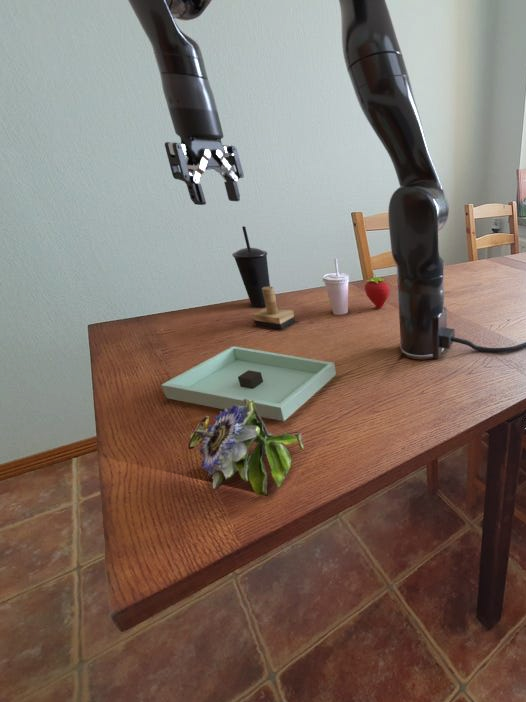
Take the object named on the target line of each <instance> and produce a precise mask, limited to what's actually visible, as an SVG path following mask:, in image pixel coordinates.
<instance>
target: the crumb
mask: <svg viewBox="0 0 526 702" xmlns="http://www.w3.org/2000/svg"><path fill="white" fill-rule="evenodd" d="M238 380H239V383H240V386H241V387H245V388H250V389H254V388H255V387H257V386H258V385H259V384H261V383H262V382H263V379H262V375H261V372H256V371H250V370H248V371H246V372H245V373H243V374H242V375H240V376H239V377H238Z"/></svg>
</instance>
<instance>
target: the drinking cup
mask: <svg viewBox="0 0 526 702" xmlns="http://www.w3.org/2000/svg"><path fill="white" fill-rule="evenodd" d="M241 228H242V233H243V236H244V240H245V245H246V247H244V248H243V247H242V248H240V249H238V250H237V251H234V252H233V253H232V254H231V255H232V257H233V258H234V260H235V264H236V266H237V268H238V271H239V274H240V277H241V280H242V283H243V285H244V288H245V291H246V294H247V297H248V299H249V302H250V305H251V307H252V308H266V305H265V300H264V296H263V292H262V288H263V287H268V286H270V287H271V283H270V274H269V266H268V257H267V256H268V252H267V251H266V250H263V249H261V248H257V247H251V244H250V240H249V236H248V233H247V229H246V228H247V227H246V226H245V225H244V226H242V227H241Z"/></svg>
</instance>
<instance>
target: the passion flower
mask: <svg viewBox="0 0 526 702" xmlns="http://www.w3.org/2000/svg"><path fill="white" fill-rule="evenodd" d="M244 402H245V404H246V406H244V407H243V406H241V407H239V405H234V406H233V408H231V407H229V410H227V409H223V411H219V415H214V418H215V423H213V424H209V420H210V416H209V415H205V417H204V418H202V419H201V420H200V422H199V423H198V424H197V425H196V428H195V430H194V431H193V432H192V433H190V434H191V435H190V440H189V442H188V448H187V449H188V450H193V449H194V448H195V447H197V446H199V445H200V444H202V446H201V447H200V448H199V452H200V454H201V455H203V458H202V459H203V461H202V462H201V467H202V468H201V470H202V472H203V471H204V472H207V474H208V475H207V476H206V477H207V478H208V477H209V476H211V479H212V489H213V490H217V489H219V488H221V487H222V485H223V484H224V482H225V480H229V479H231V478H232V477H233V476H235V474H236V472H237V473H238V475H239V477H240V479H242V480H243V481H244V482H248V481H249V483H250V485H251V489H252V490H253V492H254V493H255V494H256V495H259V496H260V495H261V496H264V497H267V496H268V494H267V493H268V490H267V488H268V484H269V483H268V482H269V476H268V473H267V470H266V464H265V462H264V456H266V460H267V463H268V465H269V468H270V471H271V472H270V474H271V477H272V478H273V482H274V484H275V486H276V487H277V489H279V488H280V487H281V485H282V484H283V482H284V481H285V479H286V476H287V475H288V474H289V471H290V469H291V465H292V457H291V453H290V451H289V450H288V449H287V447H285V446H284V445H292V444H295V443H297V442H298V446H299V449H300V450H301V451H303V450H304V449H305V445H304V441H303V438H302V431H301V430H298V431H296V430H295V431H289V432H285V433H280V434H275V435H274V434H272V433H271V432H270V431H269V430H268V428H267V426H266V424H265V422H264V421H263V418H262V417H260V415H259V413H258V411H257V408H256V407H255V403H254V401H253V400H252V401H251V400H247V399H244ZM253 412H254V413H255V414H256V415H257V416H255V415H252V414H253ZM208 425H209V426H208ZM292 434H294V435H292ZM255 442H256V444H255V445H256V446H255V448H254V449H253V450H252V451H251V452H250V448H251V446H252V445H253V444H254V443H255ZM249 452H250V455H249ZM248 455H249V456H248Z"/></svg>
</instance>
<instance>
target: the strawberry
mask: <svg viewBox="0 0 526 702" xmlns="http://www.w3.org/2000/svg"><path fill="white" fill-rule="evenodd" d="M372 274H373V275H374V277H371V279H367V280H365V285H364V292H365V294H366V296H367V298H368V299H369V300H370V302H371V303H372V304H373V305H374V306H375V307H376V308H377V309H381V308H383V306H384V305H385V303H386V302H387V300H388V299H389V297H390V292H391V290H390V286H389V285H388V284H387V282H385V281H386V279H384V278H383V277H379V278H378V277H376V275H375V273H374V272H372Z"/></svg>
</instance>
